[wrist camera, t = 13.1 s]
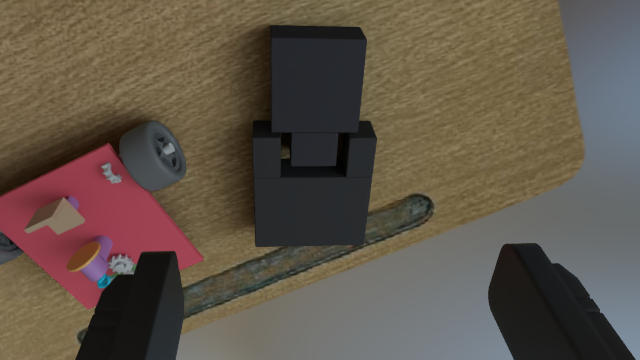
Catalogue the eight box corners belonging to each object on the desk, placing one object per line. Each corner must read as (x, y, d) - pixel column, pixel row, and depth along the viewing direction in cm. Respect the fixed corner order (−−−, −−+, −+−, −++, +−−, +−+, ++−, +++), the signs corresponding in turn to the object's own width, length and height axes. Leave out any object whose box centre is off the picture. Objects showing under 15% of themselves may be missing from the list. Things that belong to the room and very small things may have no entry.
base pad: (358, 224, 39) (363, 245, 37) (256, 225, 38) (255, 247, 36) (370, 121, 34) (377, 138, 32) (253, 120, 33) (252, 138, 31)
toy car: (157, 102, 32) (132, 155, 26) (248, 229, 38) (244, 294, 32) (-27, 193, 34) (-85, 259, 29) (87, 297, 40) (58, 369, 35)
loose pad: (349, 147, 35) (354, 166, 33) (271, 148, 34) (271, 166, 32) (360, 27, 30) (367, 39, 28) (270, 25, 30) (270, 37, 28)
